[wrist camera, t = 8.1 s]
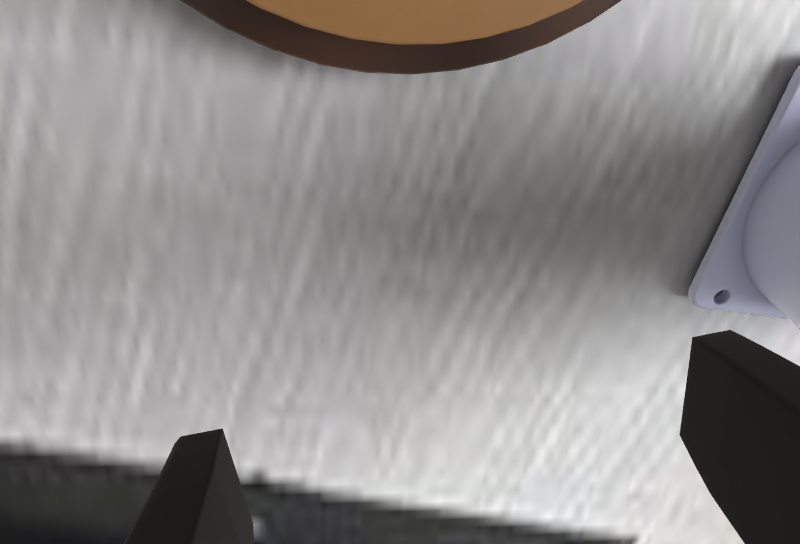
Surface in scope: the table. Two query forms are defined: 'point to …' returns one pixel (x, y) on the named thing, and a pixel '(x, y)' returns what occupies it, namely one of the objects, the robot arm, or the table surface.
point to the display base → (236, 14)
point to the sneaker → (414, 17)
